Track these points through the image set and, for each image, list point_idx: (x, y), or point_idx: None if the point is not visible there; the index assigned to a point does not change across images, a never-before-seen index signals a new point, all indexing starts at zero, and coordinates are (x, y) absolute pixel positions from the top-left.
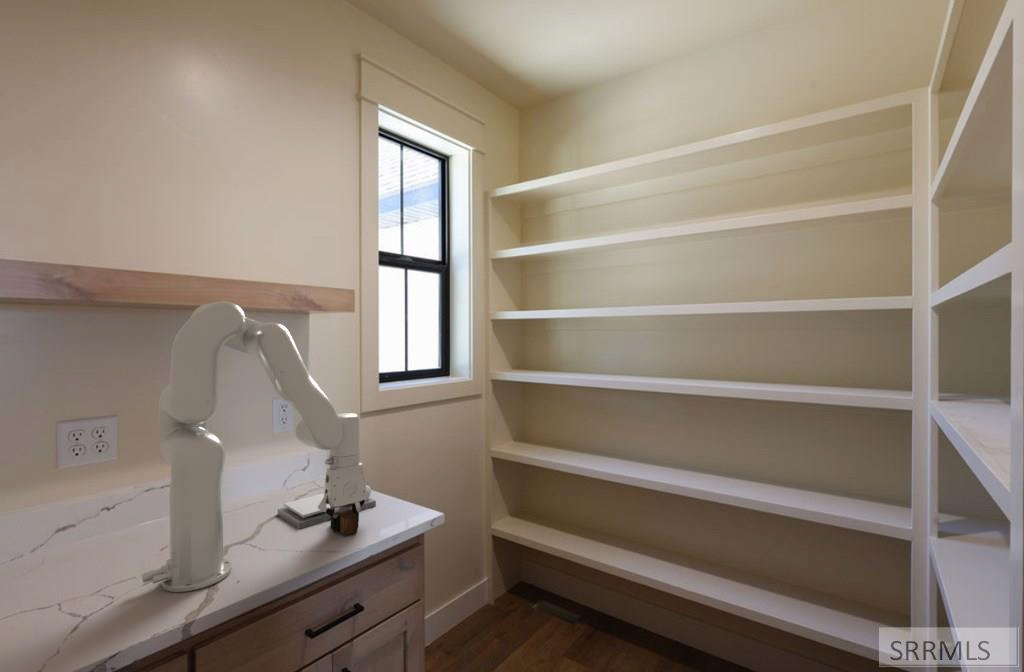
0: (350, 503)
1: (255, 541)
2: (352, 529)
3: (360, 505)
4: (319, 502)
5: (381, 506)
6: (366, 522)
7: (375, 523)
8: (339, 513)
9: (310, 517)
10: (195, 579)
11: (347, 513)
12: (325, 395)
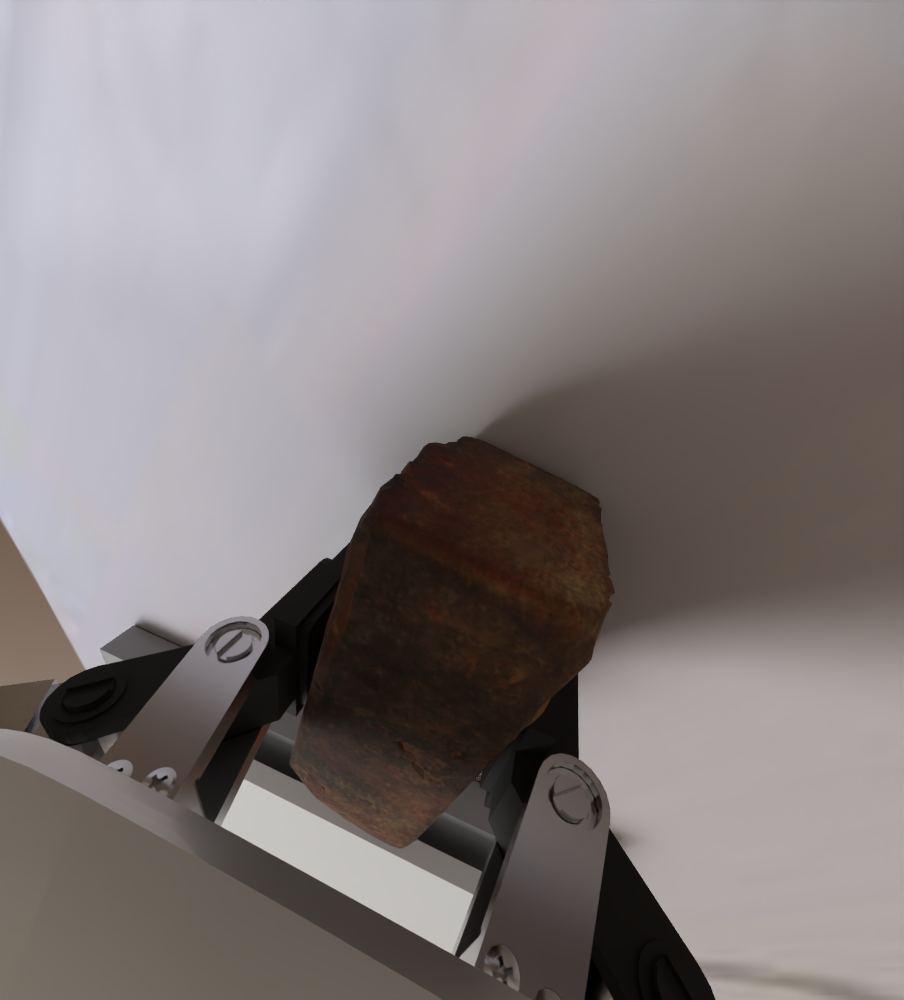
0: (267, 891)
1: (881, 970)
2: (504, 471)
3: (169, 673)
4: (346, 888)
5: (112, 592)
6: (276, 524)
7: (236, 445)
8: (459, 777)
9: (485, 853)
10: None
11: (407, 699)
12: None
